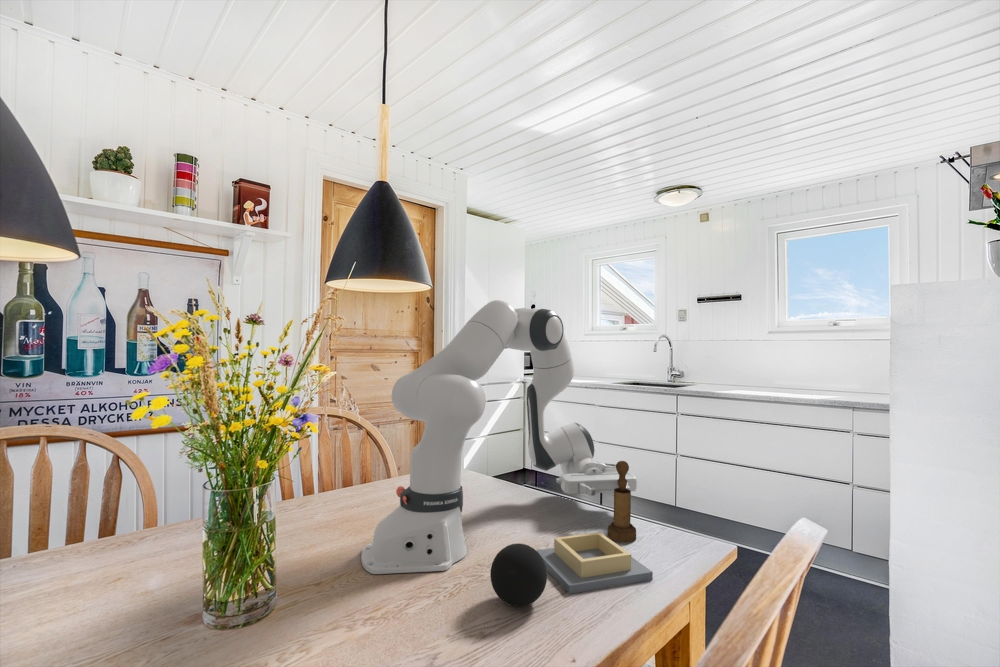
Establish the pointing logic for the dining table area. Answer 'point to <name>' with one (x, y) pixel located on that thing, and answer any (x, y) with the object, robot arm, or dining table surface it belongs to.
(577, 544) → the holder
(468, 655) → the dining table surface
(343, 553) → the dining table surface
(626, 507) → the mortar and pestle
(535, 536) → the dining table surface
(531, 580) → the speaker
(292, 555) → the dining table surface
